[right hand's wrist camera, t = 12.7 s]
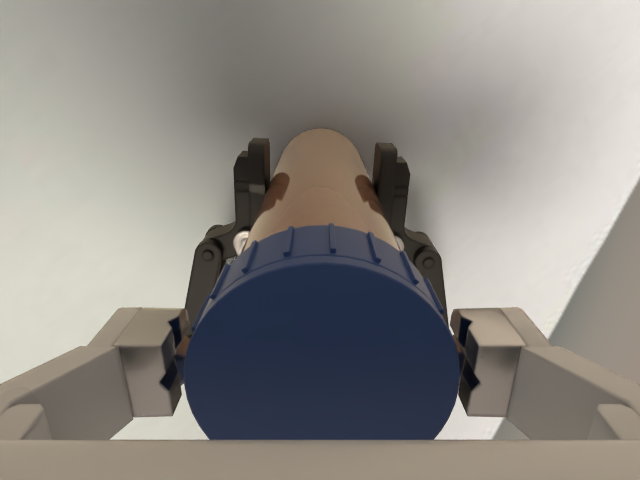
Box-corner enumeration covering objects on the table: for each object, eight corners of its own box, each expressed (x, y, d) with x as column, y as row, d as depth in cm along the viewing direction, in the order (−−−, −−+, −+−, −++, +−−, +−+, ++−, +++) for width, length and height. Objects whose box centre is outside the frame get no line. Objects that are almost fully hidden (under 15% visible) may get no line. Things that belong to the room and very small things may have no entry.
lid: (167, 362, 11) (136, 424, 9) (276, 174, 9) (265, 202, 7) (355, 450, 12) (362, 521, 10) (485, 296, 10) (523, 348, 8)
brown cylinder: (264, 183, 26) (161, 405, 9) (306, 111, 25) (275, 216, 8) (333, 223, 27) (356, 491, 10) (377, 156, 26) (492, 339, 9)
